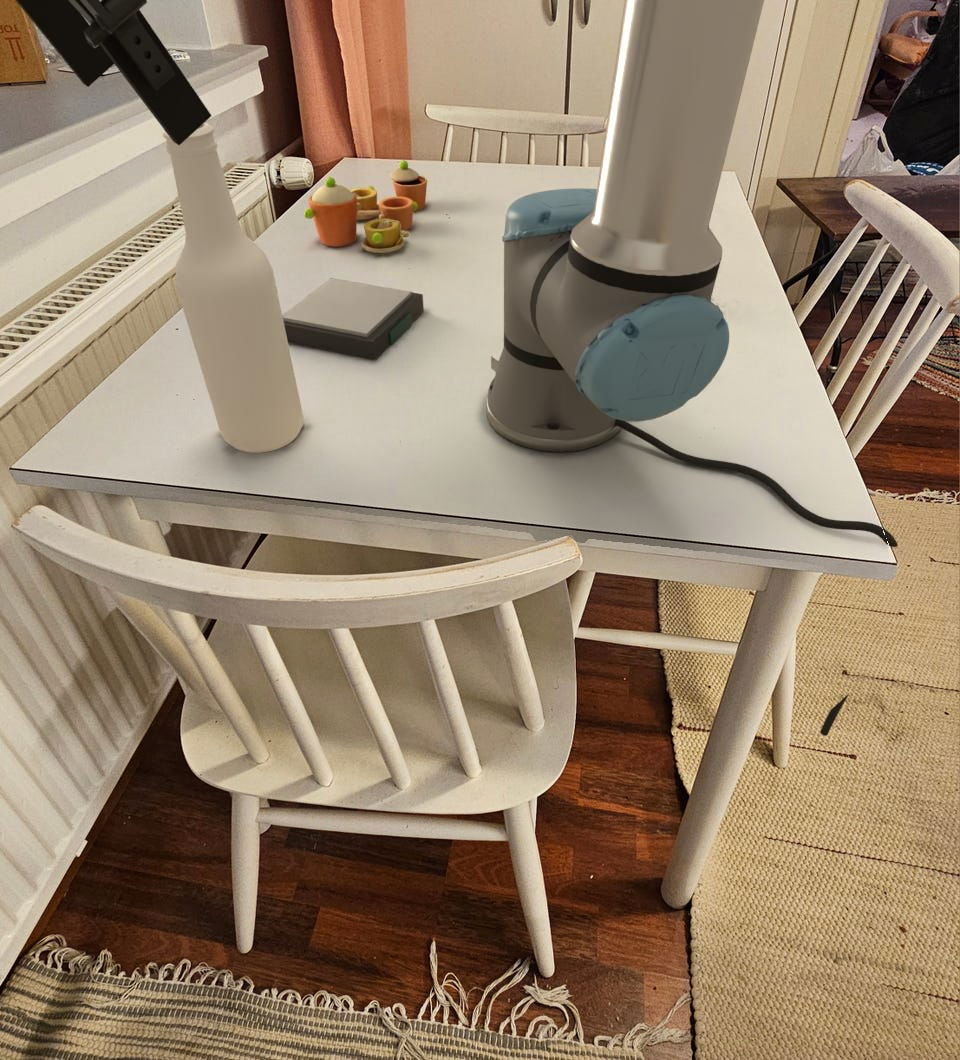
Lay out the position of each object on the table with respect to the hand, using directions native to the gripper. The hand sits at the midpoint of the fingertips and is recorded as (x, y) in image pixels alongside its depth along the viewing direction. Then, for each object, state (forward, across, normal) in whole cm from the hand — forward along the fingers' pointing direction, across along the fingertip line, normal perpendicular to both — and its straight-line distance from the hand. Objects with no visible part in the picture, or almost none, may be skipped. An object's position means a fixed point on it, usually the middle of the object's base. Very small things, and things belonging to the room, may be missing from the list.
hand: (143, 99), depth 49 cm
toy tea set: (+58, +48, -28) cm, 80 cm away
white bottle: (+35, +8, +10) cm, 37 cm away
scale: (+45, +21, -8) cm, 50 cm away
